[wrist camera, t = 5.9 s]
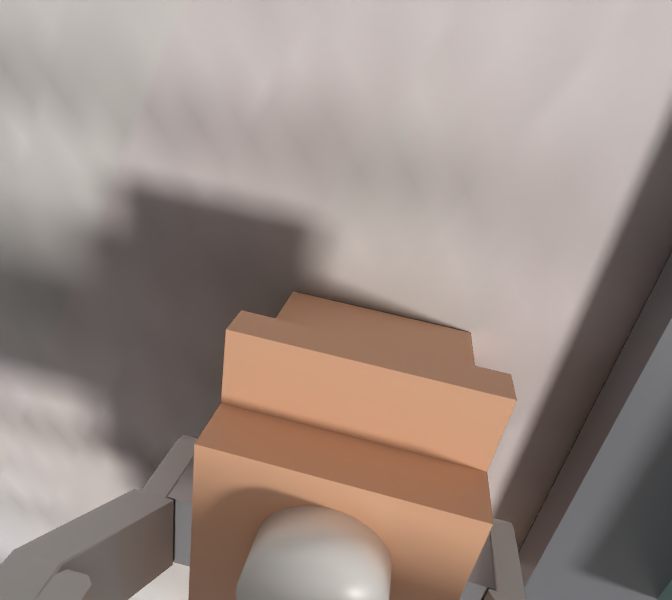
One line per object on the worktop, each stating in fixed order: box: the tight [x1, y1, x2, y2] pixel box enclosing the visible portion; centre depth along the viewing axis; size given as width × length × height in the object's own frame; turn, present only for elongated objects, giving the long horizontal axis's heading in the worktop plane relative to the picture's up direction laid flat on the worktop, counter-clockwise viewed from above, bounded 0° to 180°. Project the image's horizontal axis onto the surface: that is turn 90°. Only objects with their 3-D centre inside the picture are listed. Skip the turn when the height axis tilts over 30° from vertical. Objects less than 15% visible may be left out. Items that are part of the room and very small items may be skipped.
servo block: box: [189, 291, 517, 600], centre depth 10 cm, size 4×10×6 cm, turn 171°
